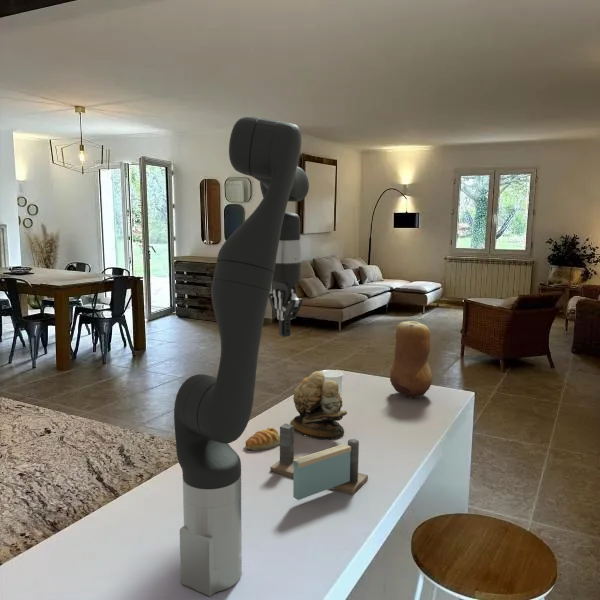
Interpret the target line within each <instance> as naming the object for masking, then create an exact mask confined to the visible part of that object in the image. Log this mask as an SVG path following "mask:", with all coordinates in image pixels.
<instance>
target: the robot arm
mask: <svg viewBox="0 0 600 600" xmlns="http://www.w3.org/2000/svg"><path fill="white" fill-rule="evenodd" d="M301 150H302V132H301V129H300V127H299V126H298V125H297V124H294V123H291V122H286V121H282V120H281V121H279V120H274V119H267V118H263V117H255V116H244V117H241V118H240V119H237V121H236V122H235V123H234V125H233V127H232V130H231V133H230V137H229V142H228V156H229V161H230V165H231V166H232V168H233V169H234V170H235V171H236V172H238V173H240V174H243V175H245V176H247V177H248V176H250V177H252V178H254V179H256V181H259V187H260V191H261V195H262V197H263V198H262V199H261V201H260V202H259V204H258V206H257V207H256V208H255V210H253V212H252V213H251V214H250V215H249V216H248V217H247V219H245V220H244V221H243V222H242V223H241V225H239V226H238V227H237V228H236V229H235V230H234V231H233V233H231V234H230V236H228V238H227V239H226V240H225V242H224V243H223V244H222V245H221V248H220V249H219V251H218V254H217V258H216V262H215V263H216V264H215V267H214V272H213V278H212V282H211V288H210V289H211V290H210V295H211V303H212V307H213V312H214V316H215V317H214V318H215V320H216V324H217V328H218V332H219V337H220V358H219V365H218V370H217V374H216V376H214V375H209V374H205V373H203V374H201V373H199V374H195V375H191V376H190V377H188V378H186V379H185V381H183V382H182V383H181V386H180V387H179V389H178V390H177V394H176V396H175V400H174V405H173V406H174V408H173V421H174V422H173V423H174V424H173V425H174V435H175V436H174V438H175V450H176V457H177V462H178V464H179V466H180V468H181V472H182V491H183V493H182V494H183V495H182V496H183V500H182V502H183V503H182V504H183V507H182V509H183V525H182V527H180V528H179V558H180V559H179V560H180V561H179V563H180V565H179V566H180V584H181V585H184V586H186V587H188V588H191V589H193V590H195V591H197V592H200V593H202V594H204V595H206V596H208V597H211V596H213V595H214V594H215V593H217V592H221V591H224V590H225V591H226V590H227V589H230V588H231V587H233V586H234V585H236V584H237V583H238V582H239V580H240V579H241V577H242V573H243V572H242V571H243V569H242V567H243V565H242V564H243V563H242V561H243V559H242V558H243V557H242V555H243V554H242V551H243V550H242V547H243V546H242V534H243V533H242V461H241V458H240V455H239V454H238V452H237V451H235V449H234V448H232V446H231V445H230V444H232V443H233V442H235V441H237V440H238V439H239V438H240V437H241V436H242V434H243V433H244V432H245V430H246V428H247V427H248V424H249V421H250V418H251V414H252V411H253V405H254V397H255V387H256V376H257V367H258V360H259V359H258V357H259V352H260V351H259V350H260V345H261V344H260V343H261V338H262V333H263V332H262V331H263V327H264V326H263V325H264V322H265V321H264V320H265V316H266V310H267V306H268V303H270V306H271V310H272V313H273V315H274V316H276V318H277V320H278V335H279V336H281V337H283V338H285V337H290V336H291V320H293V319H297V316H298V313H299V311H300V309H301V307H302V304H303V299H302V298H301V297H300V298H299V297H298V296H297V293H298V292H297V291H298V289H297V284H296V283H299V282H301V281H302V245H301V218H300V216H299V214H297V213H294V212H289V211H286V209H287V206H288V202H291V203H293V202H301V201H303V200H304V199H305V198H306V197H307V195H308V193H309V189H310V188H309V187H310V184H309V183H310V182H309V177H308V175H307V173H306V172H305V170H304V169H303V168H301V167H299V166H298V164H299V159H300V155H301ZM271 289H272V292H271ZM268 301H269V302H268Z"/></svg>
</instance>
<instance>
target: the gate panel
mask: <svg viewBox="0 0 600 600" xmlns="http://www.w3.org/2000/svg"><path fill="white" fill-rule="evenodd" d="M350 452H351V446H349V445H348V443H343V444H342V443H341V444H340V445H336V446H333V447H330V448H326V449H324V450H323V449H322V450H320V451H317V452H313V453H310V454H307V455H305V456H301V457H300V456H299V457H300V458H297V459H294V460H293V465H294V478H293V477H292V478H293V480H292V481H293V486H292V487H293V491H292V492H293V494H292V496H293V498H294V499H295V500H297V501H300V500H303V499H305V498H309V497H310V496H314V495H316V494H319V493H321V492H324V491H327V490H330V489H332V488H333V487H336V486H338V485H341V484H344V483H346V482H349V481H350Z"/></svg>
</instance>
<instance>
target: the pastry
mask: <svg viewBox="0 0 600 600" xmlns="http://www.w3.org/2000/svg"><path fill="white" fill-rule="evenodd" d="M278 431H279V430H278V429H276V428H274V427H267V428H266V429H262V430H258V431H256V432H255V433H254V434H252V435H251V436H249V437H248V438H247V440H245V447H244V448H246V449H248V450H251V451H255V450H257V451H260V450H259V449H262V450H268V449H270V447H271V448H273V446H274V447H277V446H280V433H279V432H278ZM276 445H277V446H276ZM267 448H268V449H267Z"/></svg>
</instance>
